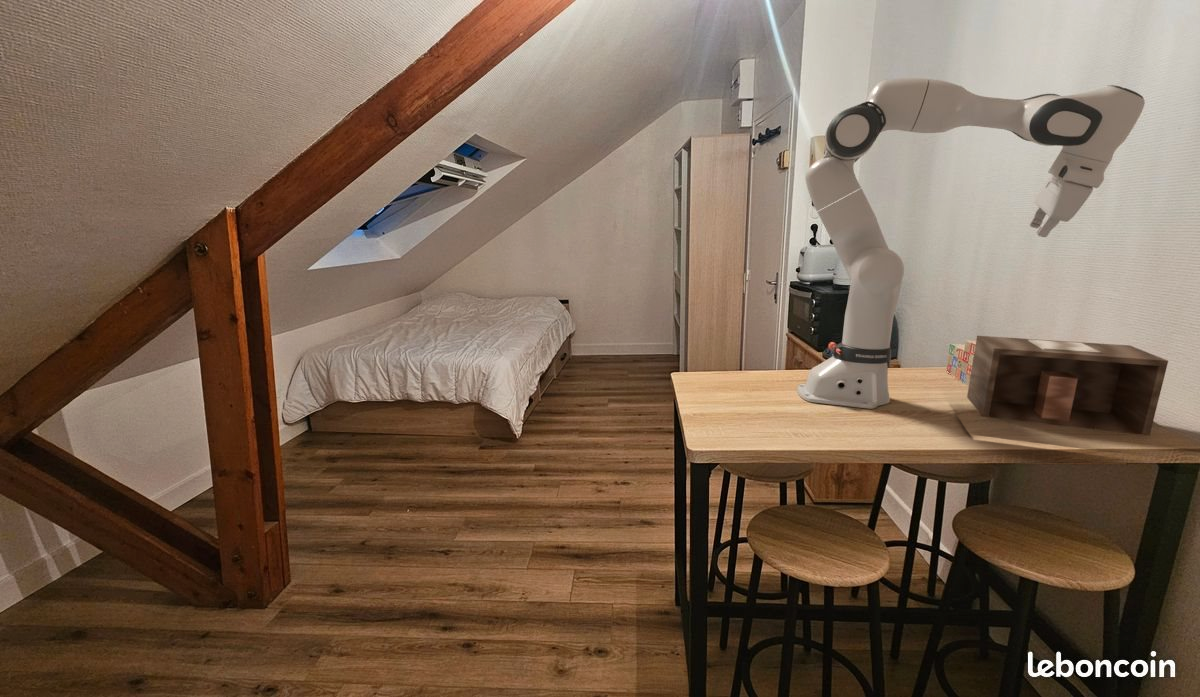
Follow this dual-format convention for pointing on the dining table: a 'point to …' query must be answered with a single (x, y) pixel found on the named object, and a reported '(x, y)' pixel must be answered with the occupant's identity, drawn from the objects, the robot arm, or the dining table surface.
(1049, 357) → the cubby
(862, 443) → the dining table surface
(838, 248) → the robot arm
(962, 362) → the stack of blocks
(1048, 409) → the terracotta block
